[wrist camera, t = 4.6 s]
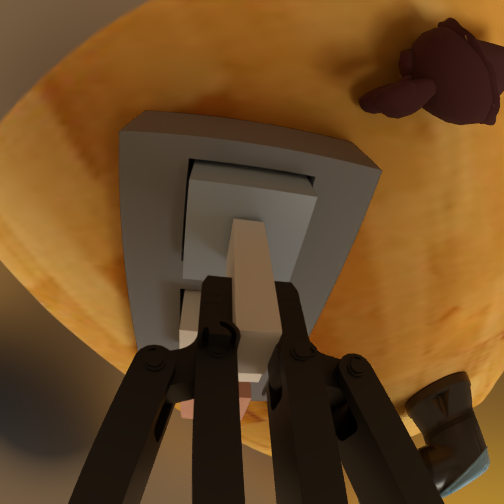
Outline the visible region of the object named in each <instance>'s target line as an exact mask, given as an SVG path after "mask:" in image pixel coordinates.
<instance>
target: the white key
mask: <svg viewBox="0 0 504 504" xmlns="http://www.w3.org/2000/svg"><path fill="white" fill-rule="evenodd" d="M200 299H201V291H199V290H189V289H185V292H184V299H183V306H182V314H181V321H180V329H179V349H181V348H184V347H187V346H188V345H190V344H191V343H192V342H194V341H195V339H196V337H197V334H198V322H199V310H200ZM261 375H262V374H248V373H238V381H239V382H259V380H260V378H261Z"/></svg>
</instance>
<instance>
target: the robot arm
mask: <svg viewBox="0 0 504 504" xmlns="http://www.w3.org/2000/svg"><path fill="white" fill-rule="evenodd" d="M267 367H268V377H269V378H268V380H267V382H266V384H265V386H264V388H263V390H262V396H265V394H266V395H267V406H268V416H269V427H270V438H271V449H272V459H273V470H274V481H275V491H276V502H277V504H348V500H347V494H346V488H345V482H344V476H343V471H342V465H343V467H344V469H345V471H346V473H347V476H348V478H349V480H350V482H351V484H352V487H353V489H354V491H355V493H356V495H357V497H358V501H359V504H444V502H443V500H442V498H443V497H446V496H448V495H449V494H452V493H453V492H455V491H457V490H459V489H461V488H462V487H464V486H466V485H467V484H469V483H470V482H472V481H473V480H475V479H476V478H477V477H479V476H480V475H481V474H483V473H484V472H485V471H486V470H487V469H488V467H489V464H490V460H489V455H488V451H487V446H486V444H485V441H484V438H483V435H482V433H481V430H480V427H479V425H478V422H477V419H476V417H475V414H474V411H473V408H472V396H471V388H470V386H471V383H470V380H469V377H468V375H467V373H465V372H461V373H456V374H453V375H450V376H448V377H445V378H443V379H441V380H439V381H437V382H435V383H433V384H431V385H429V386H428V387H426V388H424V389H423V390H421V391H420V392H418V393H417V394H416V395H414V396H413V397H412V398H411V399H410V400H409V401H408V402H407V403H406V406H405V407H406V410H407V413H408V416H409V417H410V418H412V419H413V421H414V423H415V424H416V426H417V427H418V428H419V430H420V431H421V433H422V434H423V437H424V440H425V443H426V445H425V446H423V447H421V448H419V449H417V448H416V446H415V444H414V442H413V441H412V439H411V437H410V435H409V433H408V431H407V429H406V427H405V426H404V424H403V422H402V420H401V418H400V416H399V415H398V413H397V411H396V409H395V407H394V406H393V404H392V402H391V400H390V398H389V397H388V395H387V393H386V391H385V389H384V388H383V386H382V384H381V382H380V381H379V379H378V377H377V375H376V374H375V372H374V370H373V368H372V367H371V365H370V363H369V362H368V361H367V360H366V359H365V358H364V357H362V356H361V355H358V354H347V355H345V356H343V357H342V359H338V358H334V357H331V356H328V355H325V354H322V353H320V352H319V351H317V348H316V347H315V346H314V345H313V344H312V343H311V342H310V340H309V337H308V333H307V328H306V324H305V319H304V315H303V311H302V306H301V303H300V298H299V293H298V291H297V289H296V288H295V286H294V285H293V284H292V282H282V281H274V277H273V271H272V265H271V259H270V253H269V247H268V241H267V235H266V229H265V223H264V222H259V221H251V220H243V219H234V218H233V224H232V230H231V236H230V242H229V248H228V254H227V260H226V277H221V276H211V275H208V276H207V277H206V278H205V280H204V281H203V283H202V288H201V299H200V310H199V322H198V334H197V337H196V339H195V341H194V342H192V343H191V344H190V345H188V346H187V347H184V348H181V349H176V350H169V349H167V348H165V347H163V346H161V345H155V344H153V345H147V346H145V347H143V348H141V349H140V350H139V351H138V352H137V353H136V355H135V357H134V359H133V361H132V363H131V365H130V367H129V369H128V371H127V373H126V375H125V377H124V379H123V381H122V383H121V385H120V387H119V389H118V391H117V393H116V395H115V398H114V400H113V402H112V404H111V406H110V408H109V410H108V412H107V415H106V417H105V419H104V421H103V423H102V425H101V428H100V430H99V432H98V434H97V436H96V439H95V441H94V443H93V445H92V448H91V450H90V452H89V454H88V457H87V459H86V461H85V464H84V466H83V468H82V471H81V473H80V476H79V478H78V481H77V483H76V485H75V488H74V490H73V493H72V496H71V498H70V500H69V503H68V504H140V501H141V499H142V496H143V493H144V490H145V487H146V484H147V481H148V479H149V476H150V473H151V470H152V467H153V464H154V461H155V459H156V456H157V453H158V450H159V447H160V444H161V442H162V439H163V436H164V433H165V431H166V428H167V425H168V422H169V419H170V416H171V414H172V411H173V408H174V406H175V403H178V402H183V401H188V400H192V399H194V407H193V438H192V442H193V443H192V504H245V495H244V478H243V462H242V443H241V424H240V403H239V381H238V373H248V374H265V372H266V370H267ZM341 462H342V465H341Z"/></svg>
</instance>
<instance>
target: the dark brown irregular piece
mask: <svg viewBox="0 0 504 504" xmlns="http://www.w3.org/2000/svg"><path fill="white" fill-rule="evenodd" d="M399 68H400V73H401V75H402V77H403V78H402V79H401V80H400V81H398V82H396V83H393V84H389V85H386V86H382V87H379V88H377V89H375V90H373V91H370V92H368V93H366V94H365V95H363V96H362V97H361V98H360V99H359V105H360V106H361V108H362V109H363V110H364V111H365V112H368V113H373V114H376V113H383V114H384V115H386V116H387V117H391V118H401V117H404V116H408V115H411V114H413V113H415V112H416V111H418V110H419V109H420V108H421V106H422V108H423V109H425V110H426V111H428V112H429V113H431V114H432V115H434V116H436V117H438V118H440V119H442V120H443V121H445V122H448V123H453V124H458V125H465V124H475V123H480V124H487V125H494V124H495V122H496V115H497V114H498V111H499V108H500V95H501V94H502V92H503V91H504V47H503V46H499V45H496V44H492V43H489V42H485V41H481V40H477V39H476V38H475V37H474V36H473V35H472V34H471V33H470V32H468V31H467V30H466V29H464V28H463V27H461V26H460V24H459V23H458V22H457V21H456V20H455V19H453V18H448V19H446V20H445V21H444V22H440V23H438V28H434V29H432V30H429V31H427V32H425V33H422V34H421V35H420V37H419V38H418V39H417V40H416V41H415V42H414V43H413V45H412V48H411V50H409V49H408V50H404V51H401V55H400V60H399Z"/></svg>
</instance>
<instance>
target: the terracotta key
mask: <svg viewBox="0 0 504 504" xmlns="http://www.w3.org/2000/svg"><path fill="white" fill-rule="evenodd" d="M251 398H252V397H251V382H239V403H240V421H241V420H242V418H243V416H244V414H245V412H246V409H247V407H248V405H249V403H250V400H251ZM193 407H194V399H192V400H188V401H183V402H181V417H182V418H188V419H193Z"/></svg>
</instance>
